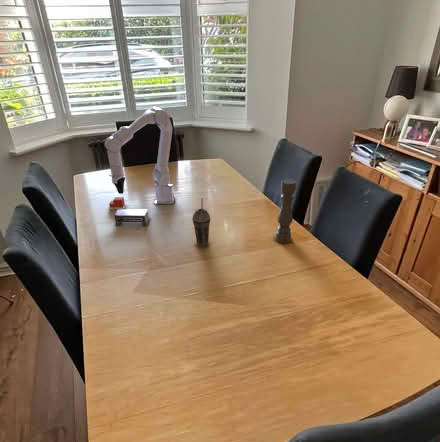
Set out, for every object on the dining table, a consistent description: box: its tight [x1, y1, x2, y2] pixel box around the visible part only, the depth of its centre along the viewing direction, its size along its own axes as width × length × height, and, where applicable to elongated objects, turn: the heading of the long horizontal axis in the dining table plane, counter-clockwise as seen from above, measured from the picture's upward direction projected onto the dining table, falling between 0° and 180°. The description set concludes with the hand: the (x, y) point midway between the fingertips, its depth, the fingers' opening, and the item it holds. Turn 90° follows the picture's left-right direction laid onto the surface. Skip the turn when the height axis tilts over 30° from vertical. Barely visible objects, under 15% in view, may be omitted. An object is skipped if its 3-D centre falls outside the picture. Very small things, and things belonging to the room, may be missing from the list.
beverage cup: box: [192, 197, 211, 249], centre depth 144 cm, size 7×7×20 cm
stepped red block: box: [108, 196, 126, 210], centre depth 181 cm, size 7×4×5 cm, turn 88°
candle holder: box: [275, 178, 297, 244], centre depth 145 cm, size 6×6×25 cm
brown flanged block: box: [113, 208, 150, 226], centre depth 167 cm, size 14×7×5 cm, turn 88°
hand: (121, 193), depth 176 cm, fingers closed
